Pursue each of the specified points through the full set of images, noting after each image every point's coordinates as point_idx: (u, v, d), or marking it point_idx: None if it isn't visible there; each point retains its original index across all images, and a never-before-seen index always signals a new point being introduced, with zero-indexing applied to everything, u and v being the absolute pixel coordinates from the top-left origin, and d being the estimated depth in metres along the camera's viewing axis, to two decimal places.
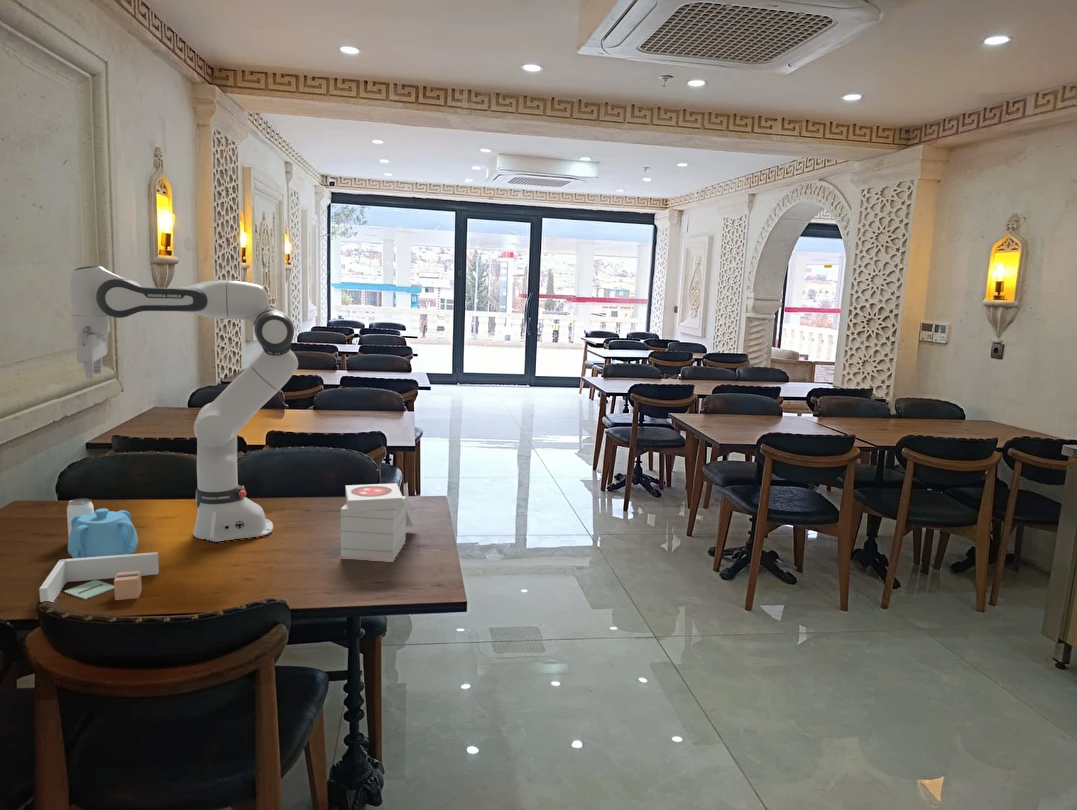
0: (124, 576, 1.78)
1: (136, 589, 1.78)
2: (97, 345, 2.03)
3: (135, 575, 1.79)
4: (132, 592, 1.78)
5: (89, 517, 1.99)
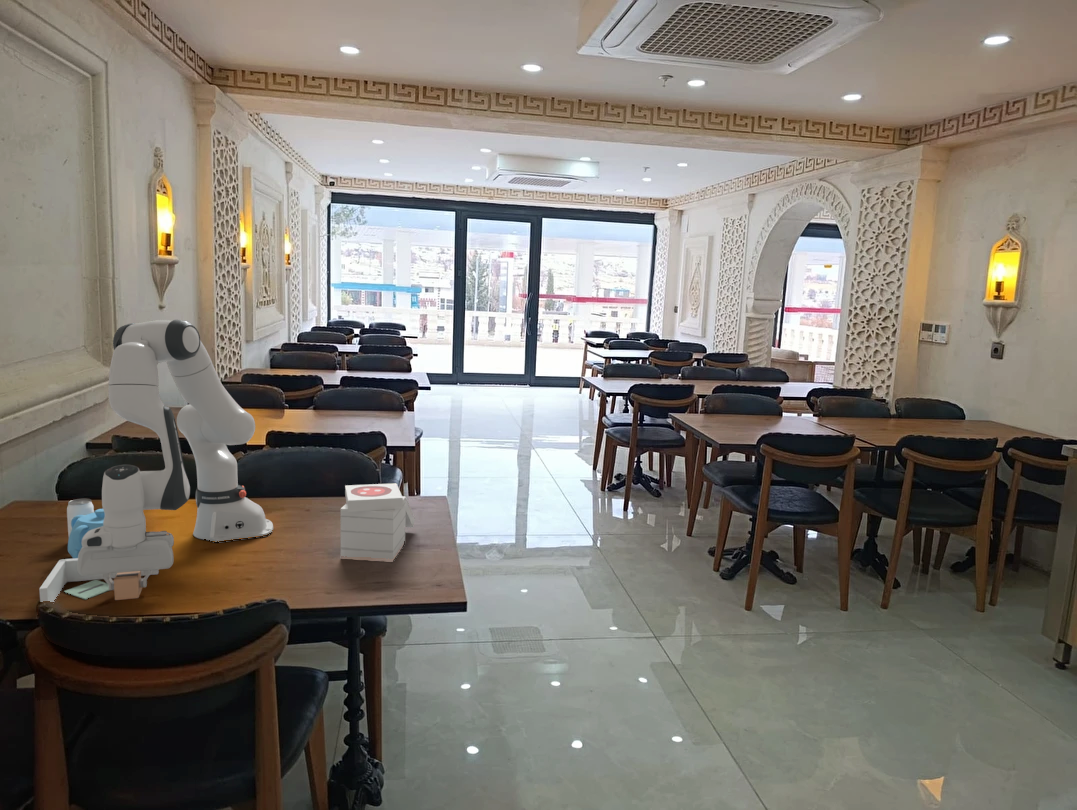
0: (124, 576, 1.78)
1: (136, 589, 1.78)
2: None
3: (135, 575, 1.79)
4: (132, 592, 1.78)
5: (89, 517, 1.99)
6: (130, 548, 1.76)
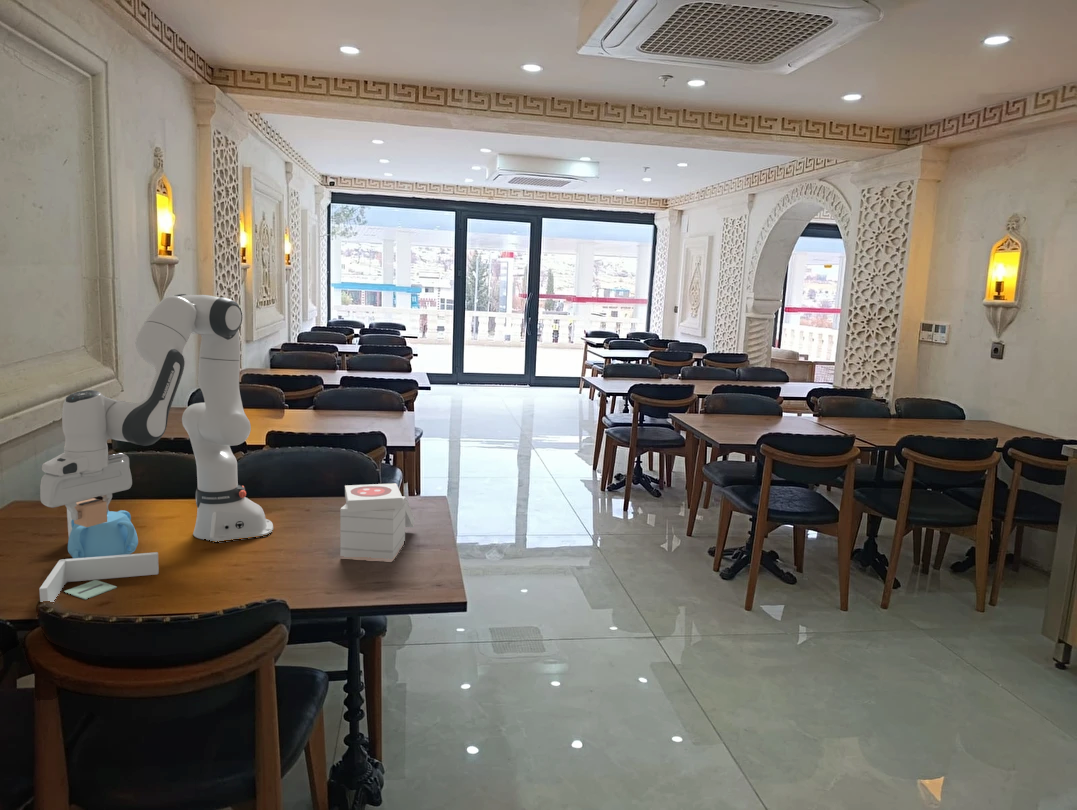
0: (88, 503, 1.77)
1: (105, 512, 1.79)
2: None
3: (98, 500, 1.79)
4: (102, 516, 1.78)
5: None
6: (100, 471, 1.76)
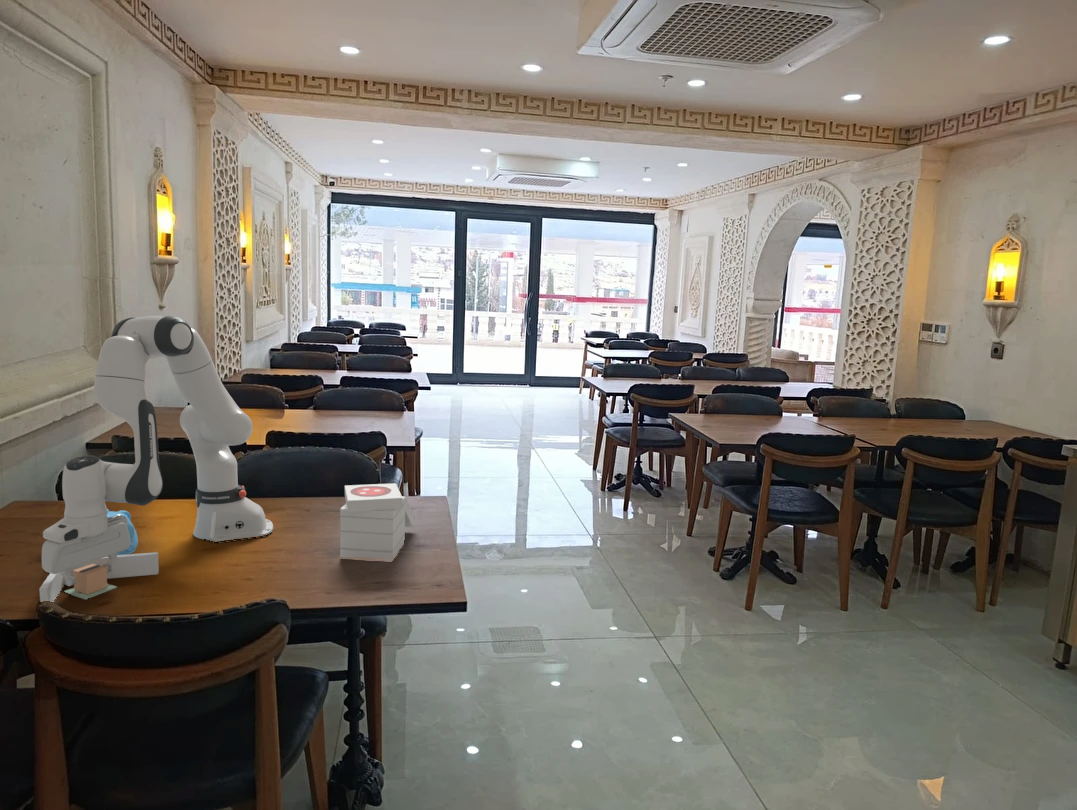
0: (88, 570, 1.80)
1: (105, 578, 1.82)
2: None
3: (98, 566, 1.82)
4: (102, 582, 1.81)
5: None
6: (100, 535, 1.79)
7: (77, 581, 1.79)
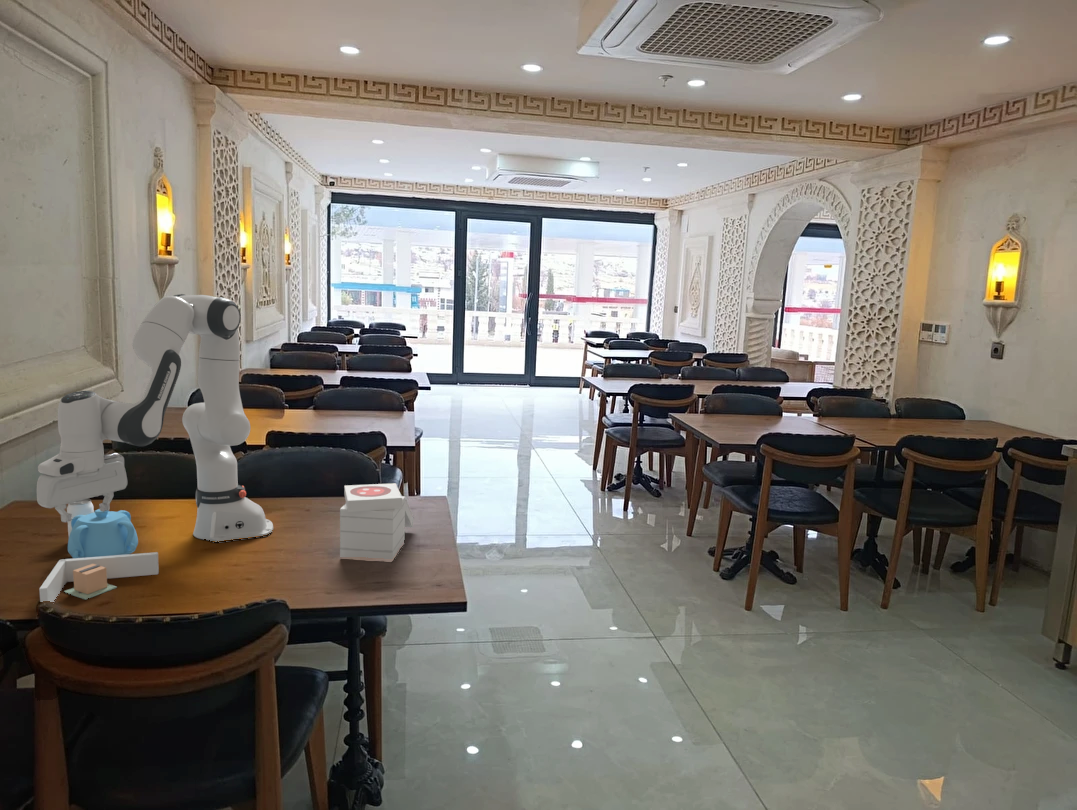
0: (88, 570, 1.80)
1: (105, 578, 1.82)
2: None
3: (98, 566, 1.82)
4: (102, 582, 1.81)
5: (89, 517, 1.99)
6: (96, 472, 1.76)
7: (77, 581, 1.79)
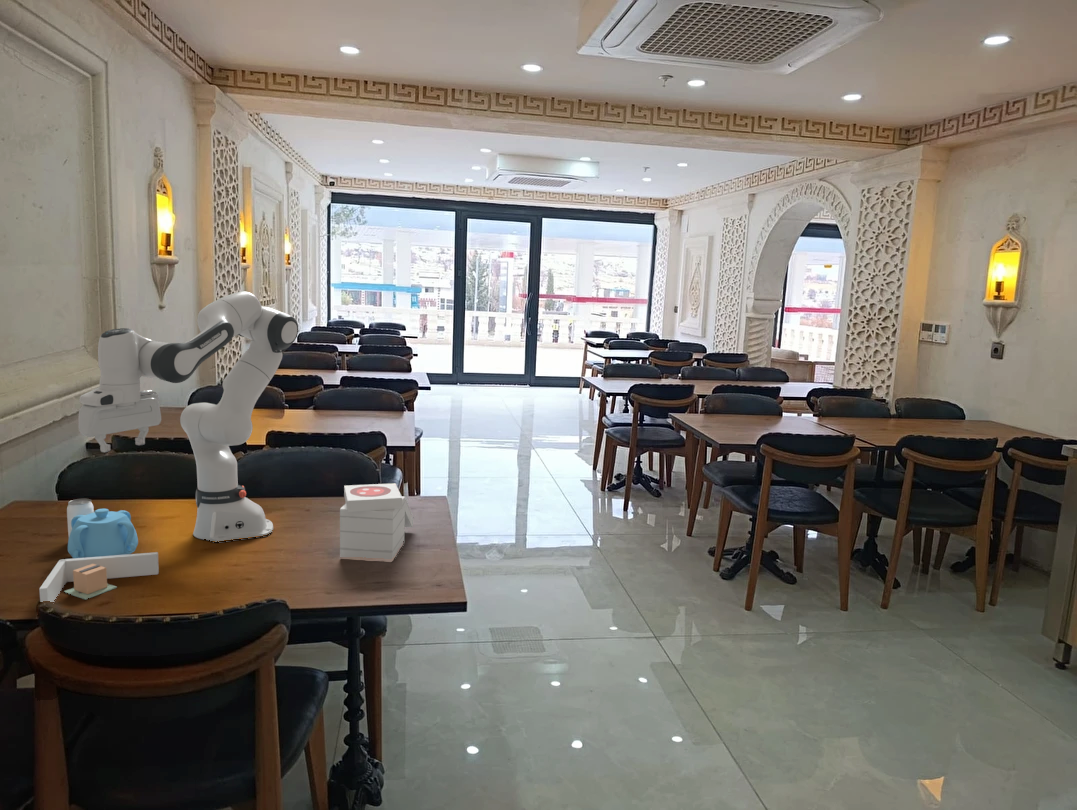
0: (88, 570, 1.80)
1: (105, 578, 1.82)
2: None
3: (98, 566, 1.82)
4: (102, 582, 1.81)
5: (89, 517, 1.99)
6: (133, 405, 1.86)
7: (77, 581, 1.79)
